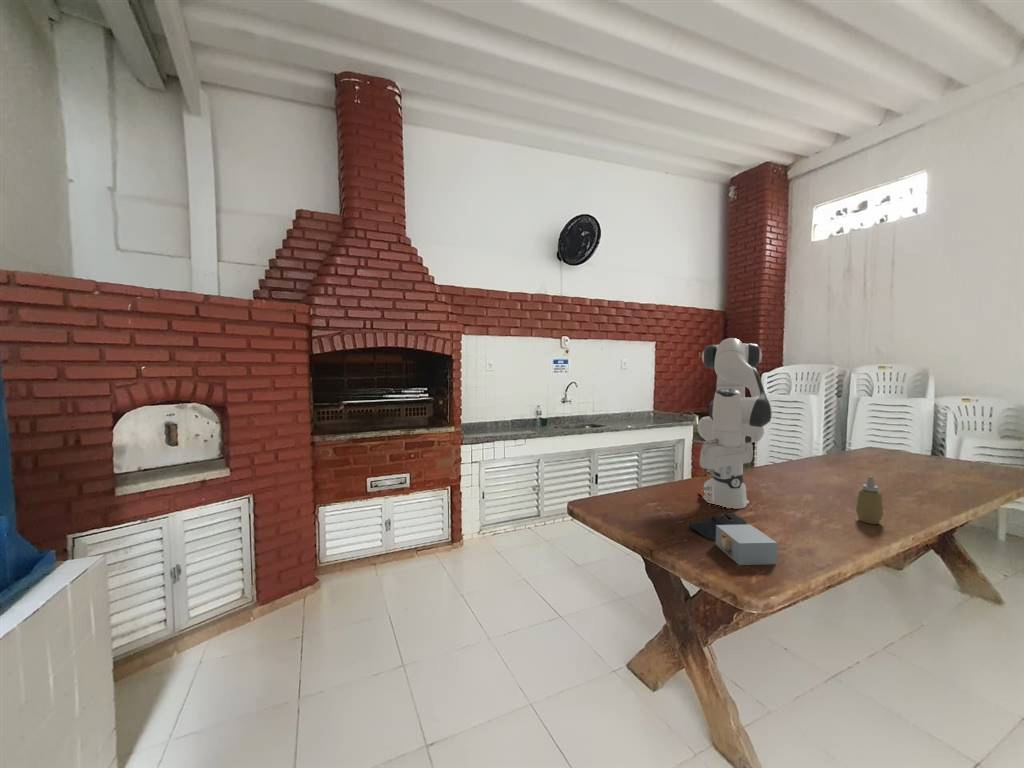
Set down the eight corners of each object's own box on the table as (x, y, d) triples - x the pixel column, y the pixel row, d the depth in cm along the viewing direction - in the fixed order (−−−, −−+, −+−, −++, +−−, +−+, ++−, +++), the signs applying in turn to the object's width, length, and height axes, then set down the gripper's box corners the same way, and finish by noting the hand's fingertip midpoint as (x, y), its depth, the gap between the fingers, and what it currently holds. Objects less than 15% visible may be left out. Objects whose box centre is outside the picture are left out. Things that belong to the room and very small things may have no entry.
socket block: (715, 544, 141) (716, 525, 141) (749, 543, 142) (750, 524, 141) (738, 564, 127) (739, 543, 127) (776, 564, 128) (777, 542, 127)
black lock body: (681, 527, 157) (681, 515, 157) (723, 518, 165) (723, 507, 165) (714, 544, 143) (714, 531, 142) (758, 533, 151) (758, 521, 150)
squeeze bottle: (850, 519, 162) (852, 475, 161) (862, 516, 165) (864, 472, 164) (875, 527, 154) (877, 480, 153) (887, 523, 157) (889, 478, 156)
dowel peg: (721, 547, 136) (721, 535, 136) (756, 546, 136) (756, 534, 136) (728, 552, 132) (728, 540, 132) (764, 552, 132) (764, 540, 132)
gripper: (710, 443, 129) (709, 485, 130) (757, 436, 136) (755, 477, 137) (695, 439, 134) (694, 479, 136) (740, 433, 142) (739, 471, 143)
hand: (725, 478), depth 136 cm, fingers closed
